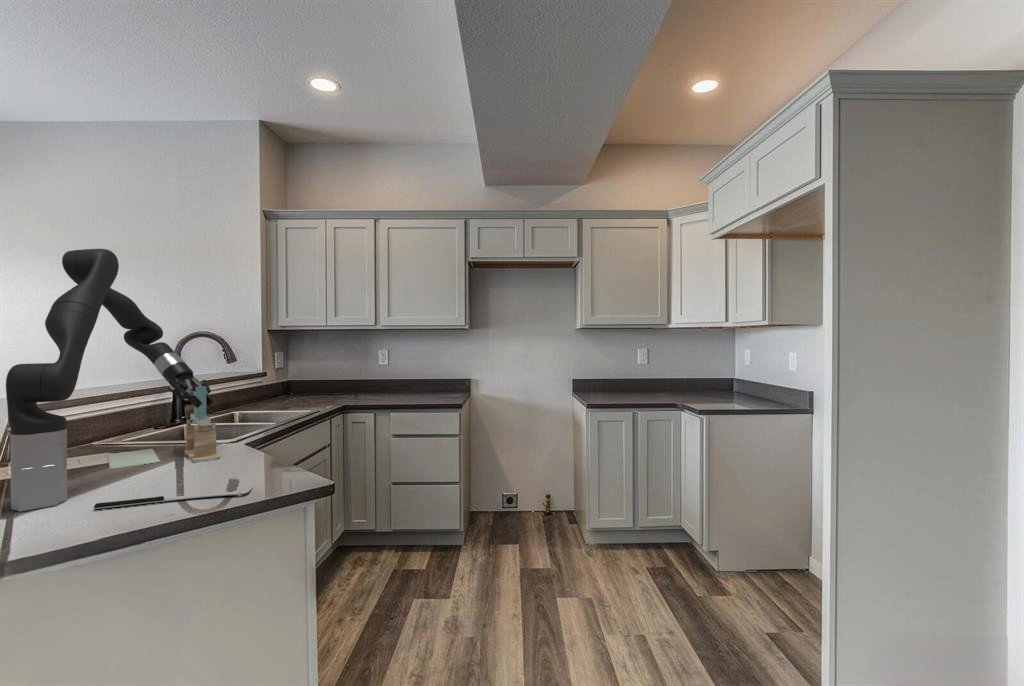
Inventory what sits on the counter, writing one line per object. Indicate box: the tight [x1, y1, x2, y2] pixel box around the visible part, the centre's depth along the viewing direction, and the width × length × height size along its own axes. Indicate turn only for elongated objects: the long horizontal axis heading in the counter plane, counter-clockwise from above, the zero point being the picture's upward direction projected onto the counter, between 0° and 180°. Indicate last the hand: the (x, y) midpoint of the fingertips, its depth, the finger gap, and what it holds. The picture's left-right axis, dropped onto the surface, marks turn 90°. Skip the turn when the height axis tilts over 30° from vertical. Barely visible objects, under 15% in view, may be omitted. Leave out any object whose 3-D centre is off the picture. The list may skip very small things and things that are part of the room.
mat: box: [107, 448, 161, 471], centre depth 149 cm, size 24×12×1 cm, turn 43°
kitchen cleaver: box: [93, 490, 251, 511], centre depth 111 cm, size 31×2×10 cm
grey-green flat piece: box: [190, 386, 212, 426], centre depth 153 cm, size 18×3×12 cm, turn 43°
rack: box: [183, 418, 220, 464], centre depth 153 cm, size 19×7×12 cm, turn 43°
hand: (205, 404), depth 152 cm, fingers closed on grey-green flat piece, 4 cm apart
